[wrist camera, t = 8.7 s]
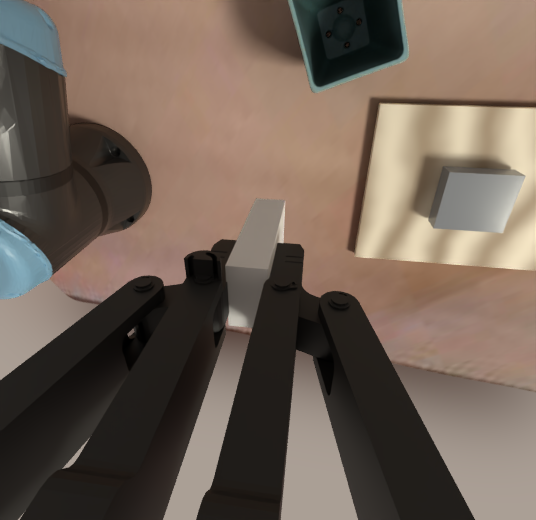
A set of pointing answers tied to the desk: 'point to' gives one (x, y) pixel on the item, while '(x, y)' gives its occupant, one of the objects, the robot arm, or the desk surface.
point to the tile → (475, 198)
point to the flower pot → (348, 38)
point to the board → (427, 177)
